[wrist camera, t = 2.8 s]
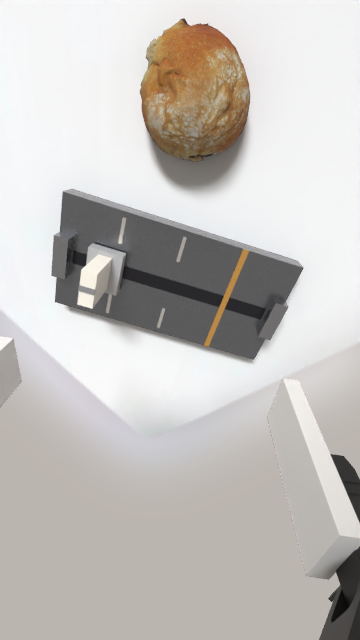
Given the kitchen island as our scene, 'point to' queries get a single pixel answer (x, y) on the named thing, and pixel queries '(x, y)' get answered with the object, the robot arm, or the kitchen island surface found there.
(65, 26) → the kitchen island surface
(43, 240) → the kitchen island surface
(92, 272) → the fader
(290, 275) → the console
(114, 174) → the kitchen island surface
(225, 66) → the bread roll
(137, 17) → the kitchen island surface
